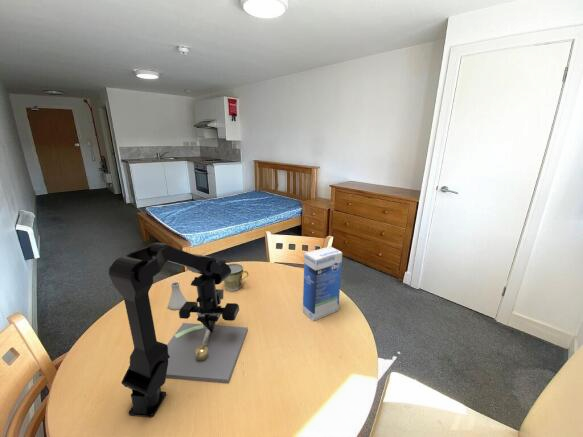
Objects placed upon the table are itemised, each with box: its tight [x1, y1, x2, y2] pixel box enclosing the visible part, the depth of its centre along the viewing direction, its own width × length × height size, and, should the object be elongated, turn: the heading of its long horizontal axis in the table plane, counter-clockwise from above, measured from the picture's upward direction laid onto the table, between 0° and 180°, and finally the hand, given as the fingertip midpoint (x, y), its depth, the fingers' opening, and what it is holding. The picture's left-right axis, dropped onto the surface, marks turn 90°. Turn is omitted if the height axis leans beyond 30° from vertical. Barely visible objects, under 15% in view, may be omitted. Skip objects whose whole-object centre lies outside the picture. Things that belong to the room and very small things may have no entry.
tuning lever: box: [195, 327, 214, 361], centre depth 86 cm, size 15×4×3 cm, turn 5°
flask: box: [167, 281, 188, 311], centre depth 108 cm, size 7×7×10 cm
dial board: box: [166, 322, 249, 384], centre depth 85 cm, size 22×24×1 cm
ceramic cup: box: [223, 262, 249, 292], centre depth 122 cm, size 13×10×10 cm
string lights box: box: [302, 246, 343, 322], centre depth 103 cm, size 13×8×26 cm, turn 122°
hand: (212, 331), depth 90 cm, fingers closed
